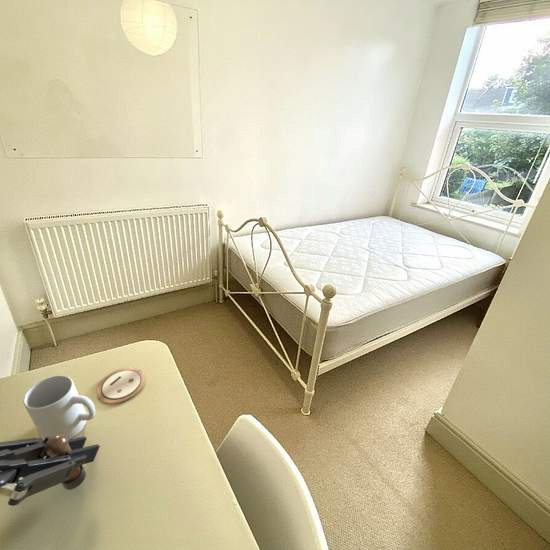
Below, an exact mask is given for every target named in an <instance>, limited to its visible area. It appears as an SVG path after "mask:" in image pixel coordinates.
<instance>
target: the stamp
mask: <svg viewBox="0 0 550 550" xmlns="http://www.w3.org/2000/svg"><path fill="white" fill-rule="evenodd" d="M68 443H69V442H68V438H67V437H66V436H65V435H62V434H58V435H55V436H53V437H51V438H50V439H49V440H48V441H47V443H46V445H45V451H46V453H47V454H48V455H50V457H51V458H52V457H58V456H64V455H65V453H66V452H67V451H71V448H70V446H69V444H68ZM86 476H87V472H86V470H85V468H84V466H83V465H82V466H79V467H76V468H73V470H72V472H71V474H70V477H69V479H68V480H67V481H64V482H62V483H61V485H62V486H63V488H64V489H65V490H68V491H69V490H70V491H71V490H75V489H77V488H78V487H80V486H81V485H82V484H83V482H84V481H85V479H86Z"/></svg>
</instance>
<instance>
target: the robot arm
mask: <svg viewBox="0 0 550 550" xmlns="http://www.w3.org/2000/svg"><path fill="white" fill-rule="evenodd" d="M50 438H51V437H46V438H45V440H44V441H41V439H40V438H39V437H31V438H21V439H15V440H8V441H6V440H5V441H0V496H3V497H7V498H9V499H8V501H7V505H8V506H11V507H14V506H15V507H16V506H18V505H19V504H21V502H23V501H24V500H25V499H27V498H29V497H31V496H33V495H36V494H38V493H41V492H44V491H45V490H48V489H51V488H53V487H55V486H58V485H60V484H62V482H64V481H67V480H68V479H69V477H70V474H71V472H72V470H73V468H76V467H79V466H83V465H86V464H89V463H93V462H94V461H95V458H96V457H97V454H98V451H100V450H99V449H100V447H101V445H99V444H97V443H96V444H93V445H89V446H85V444H86V441H87V439H88V438H87V437H86V436H80V437H73V438H71V439H69V440H68V442H69V443H68V444H69V446H70V448H71V451H67V452H66V453H65V455H64V456H58V457H52V458H51V457H50V455H48V454H47V453H46V451H45V445H46V443H47V441H48V440H49V439H50ZM40 441H41V442H40ZM84 446H85V447H84Z"/></svg>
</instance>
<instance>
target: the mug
mask: <svg viewBox="0 0 550 550" xmlns="http://www.w3.org/2000/svg"><path fill="white" fill-rule="evenodd" d="M22 403H23V406H24V408H25V410H26V412H27V413H28V415H29V417H30V419H31V421H32V422H33V425H34V426H35V428H36V430H37V432H38V434H39V436H40V438H41V439H42V442H44V440H45V438H46V437H53V436H55V435H58V434H62V435H65V436H66V437H67V438H68V440H69V439H74V438H75V437H76V436H77V435H78V434H80V432H81V431H82V430H83V429H84V427H85V426H86V424H87V421H91V420H93V419H94V418H95V416H96V414H97V413H96V406H95V404H94V402H93V401H92V399H91V398H89V397H88V396H86V395H85V396H84V395H81V394H80V395H79V392H78V390H77V388H76V385H75V383H74V381H73V379H72V378H71V377H69V376H67V375H64V374H63V375H60V374H59V375H58V374H57V375H52V376H49V377H46V378H43V379H41V380H40V381H38V382H36V383H35V384H34V385H33V386H31V387H30V388H29V389H28V390H27V391H26V392H25V394H24V396H23V401H22ZM85 407H86V408H85ZM86 409H87V410H88V412H87V411H86Z"/></svg>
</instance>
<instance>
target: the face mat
mask: <svg viewBox="0 0 550 550" xmlns="http://www.w3.org/2000/svg"><path fill="white" fill-rule="evenodd" d="M146 380H147V379H146V375H145V373H144V372H143V371H142V370H141V369H139V368H137V367H123V368H119V369H116V370H114V371H112V372H110V373H109V374H107V375H106V376H105V377H104V378H103V379H102V380H100V382H99V383H98V385H97V388H96V395H97V398H98V399H99V401H101V402H102V403H105V404H109V405H117V404H121V403H124V402H127V401H129V400H131V399H134V397H136V396H137V395H138V394H139V393H140V392H141V391H142V390H143V388H144V387H145V385H146Z"/></svg>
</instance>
